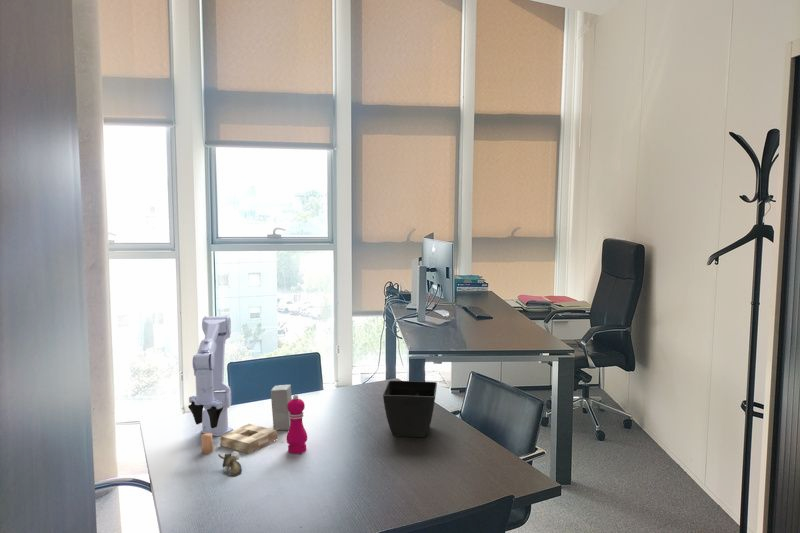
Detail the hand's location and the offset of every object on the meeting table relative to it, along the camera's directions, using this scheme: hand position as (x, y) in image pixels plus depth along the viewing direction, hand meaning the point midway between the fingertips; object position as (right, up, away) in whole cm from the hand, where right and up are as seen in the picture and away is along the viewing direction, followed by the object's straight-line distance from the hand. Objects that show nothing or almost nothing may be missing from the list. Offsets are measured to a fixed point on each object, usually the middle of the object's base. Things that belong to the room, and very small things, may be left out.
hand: (206, 425), depth 209 cm
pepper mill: (+31, -9, +1) cm, 33 cm away
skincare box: (+22, -7, +24) cm, 33 cm away
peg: (0, -9, +1) cm, 9 cm away
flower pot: (+72, -7, +18) cm, 74 cm away
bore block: (+13, -8, +8) cm, 18 cm away
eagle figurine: (+13, -11, -15) cm, 22 cm away
